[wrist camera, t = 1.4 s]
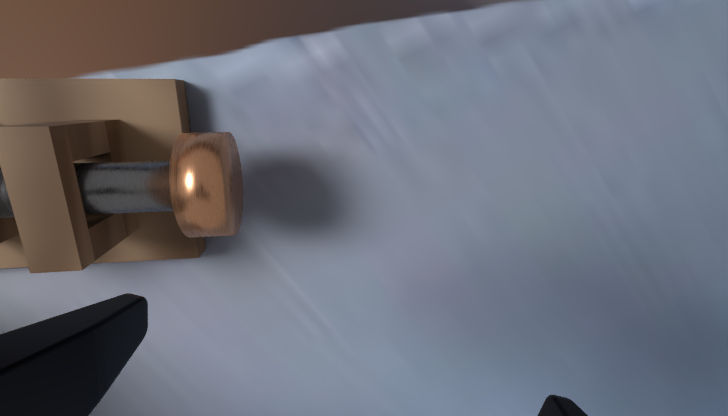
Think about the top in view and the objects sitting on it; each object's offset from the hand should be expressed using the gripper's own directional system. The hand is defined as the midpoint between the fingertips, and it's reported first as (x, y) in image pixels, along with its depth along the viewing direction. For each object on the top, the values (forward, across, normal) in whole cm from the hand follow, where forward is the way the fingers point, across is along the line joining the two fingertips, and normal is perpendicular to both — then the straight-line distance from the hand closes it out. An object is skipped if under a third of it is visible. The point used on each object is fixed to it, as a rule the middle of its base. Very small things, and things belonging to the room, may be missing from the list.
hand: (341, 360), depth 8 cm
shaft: (+11, +14, +2) cm, 18 cm away
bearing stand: (+12, +18, +3) cm, 22 cm away
